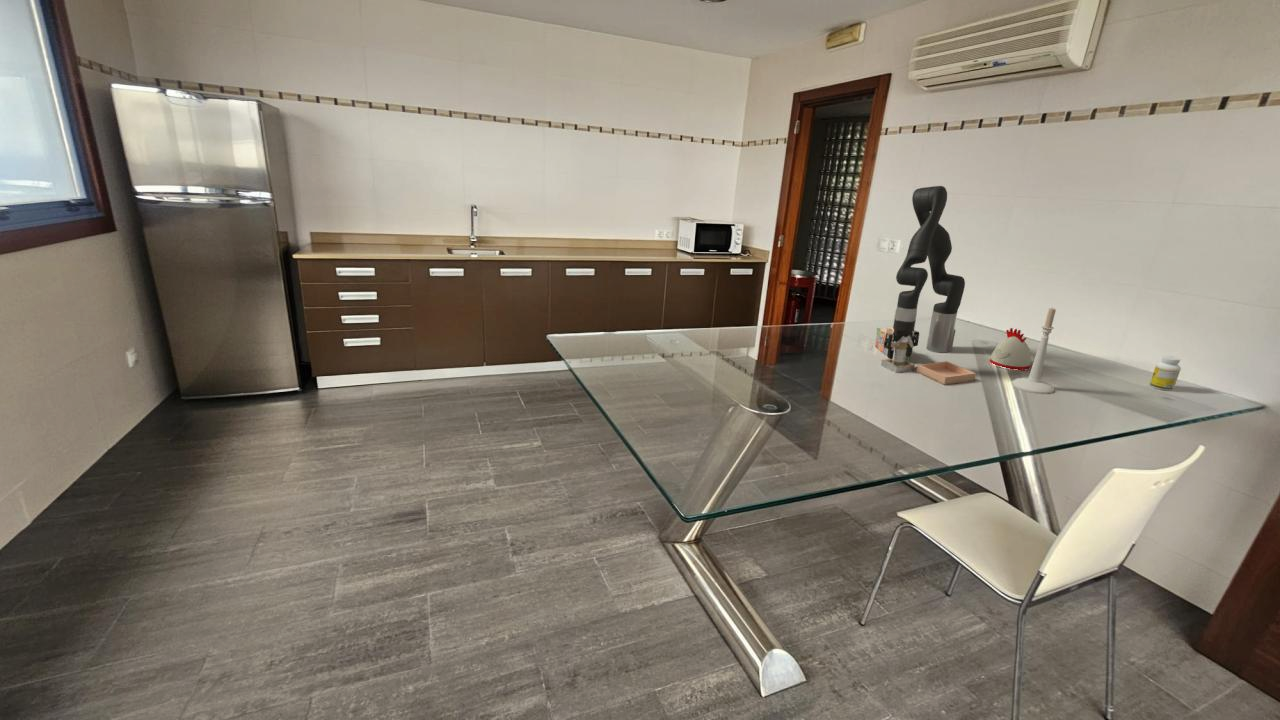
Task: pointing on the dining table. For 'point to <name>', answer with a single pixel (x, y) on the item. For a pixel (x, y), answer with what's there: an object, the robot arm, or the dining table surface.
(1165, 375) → the pill bottle
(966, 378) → the tray
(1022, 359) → the kitchen timer
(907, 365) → the grey flat square frame
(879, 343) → the colourful printed box
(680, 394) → the dining table surface
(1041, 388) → the candlestick
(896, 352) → the sprinkles bottle
